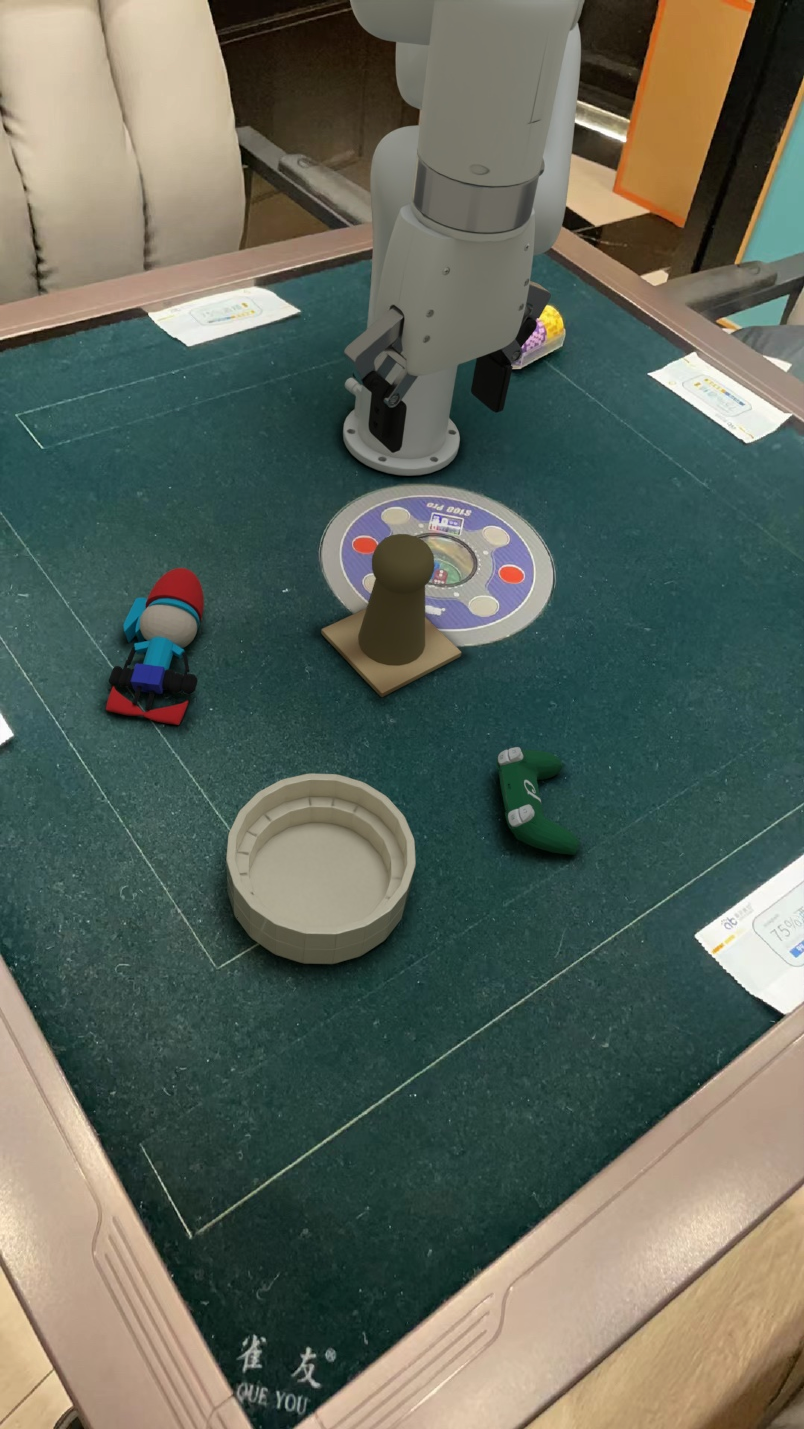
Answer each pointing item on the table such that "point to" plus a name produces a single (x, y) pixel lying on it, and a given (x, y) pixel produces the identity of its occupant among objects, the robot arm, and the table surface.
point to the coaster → (389, 676)
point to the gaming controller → (531, 799)
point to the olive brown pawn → (397, 601)
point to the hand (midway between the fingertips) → (436, 421)
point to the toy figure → (160, 645)
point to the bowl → (319, 868)
